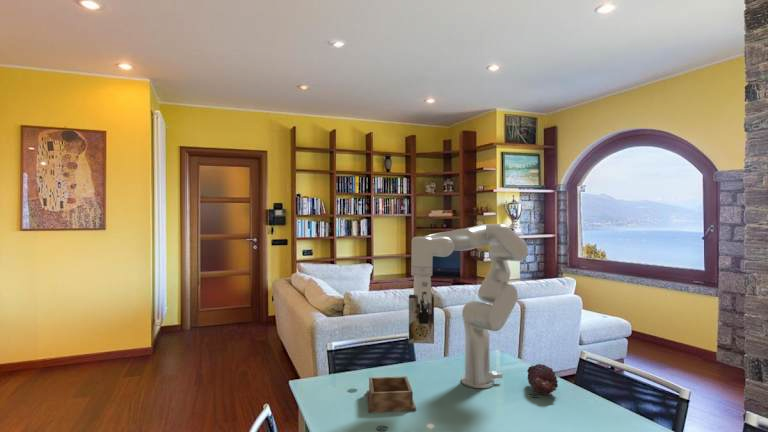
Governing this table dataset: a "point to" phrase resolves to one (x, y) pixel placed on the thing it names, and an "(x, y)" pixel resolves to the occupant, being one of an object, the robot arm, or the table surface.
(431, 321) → the coffee box
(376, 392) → the holder
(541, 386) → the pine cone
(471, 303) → the robot arm
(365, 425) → the table surface
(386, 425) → the table surface
